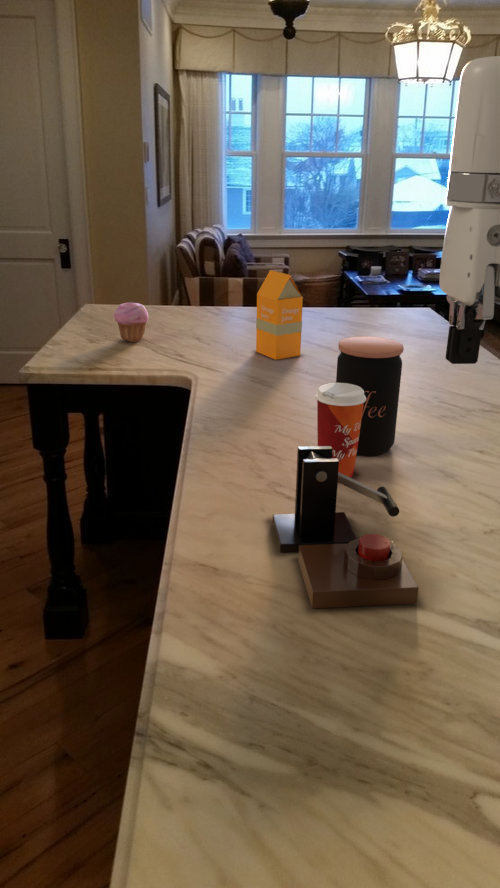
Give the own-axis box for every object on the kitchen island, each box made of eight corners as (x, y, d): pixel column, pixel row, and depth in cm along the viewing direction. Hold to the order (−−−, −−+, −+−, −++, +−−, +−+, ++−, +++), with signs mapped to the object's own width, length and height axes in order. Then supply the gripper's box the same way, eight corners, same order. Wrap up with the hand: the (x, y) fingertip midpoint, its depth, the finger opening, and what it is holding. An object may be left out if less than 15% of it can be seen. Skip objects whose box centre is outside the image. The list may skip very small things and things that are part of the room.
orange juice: (280, 347, 182) (282, 268, 174) (300, 355, 175) (304, 273, 168) (255, 351, 178) (256, 271, 170) (275, 359, 171) (277, 276, 164)
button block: (392, 556, 89) (395, 529, 87) (416, 603, 80) (420, 573, 78) (298, 560, 88) (299, 532, 86) (312, 608, 78) (313, 578, 77)
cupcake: (109, 339, 187) (107, 301, 184) (136, 334, 193) (135, 297, 189) (128, 346, 181) (126, 307, 178) (155, 340, 187) (154, 303, 183)
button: (384, 545, 84) (385, 532, 84) (392, 562, 81) (394, 548, 80) (354, 546, 84) (355, 534, 83) (362, 563, 81) (363, 549, 80)
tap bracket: (343, 519, 98) (349, 440, 93) (357, 549, 90) (364, 465, 86) (272, 521, 97) (274, 442, 92) (280, 552, 89) (283, 467, 85)
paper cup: (341, 488, 106) (347, 400, 101) (301, 473, 111) (305, 389, 106) (370, 472, 112) (377, 388, 106) (331, 459, 117) (336, 378, 111)
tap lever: (381, 500, 96) (390, 486, 95) (393, 521, 90) (403, 506, 90) (299, 460, 92) (308, 445, 92) (307, 480, 87) (317, 464, 86)
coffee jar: (320, 447, 121) (326, 345, 114) (349, 429, 129) (356, 333, 122) (377, 462, 115) (387, 356, 108) (403, 442, 124) (414, 342, 117)
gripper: (553, 196, 67) (521, 381, 74) (489, 188, 81) (468, 344, 88) (477, 196, 66) (452, 382, 73) (425, 187, 80) (409, 345, 87)
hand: (461, 361), depth 81 cm, fingers closed
